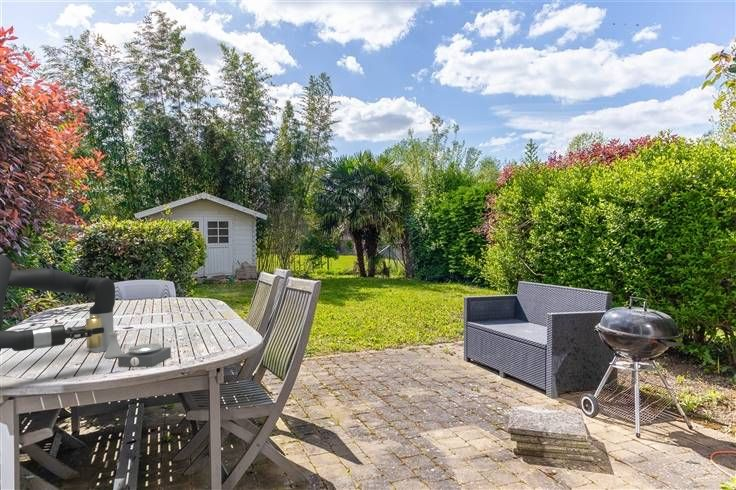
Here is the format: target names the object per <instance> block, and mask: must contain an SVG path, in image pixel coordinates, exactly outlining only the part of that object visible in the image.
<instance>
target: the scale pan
mask: <svg viewBox="0 0 736 490" xmlns="http://www.w3.org/2000/svg"><path fill="white" fill-rule="evenodd" d="M161 347H162V344H160V343H144V344H138V345H134V346H131V347H129V348H128V352H129V353H136V354H137V353H148V352H153V351H157V350H159V349H161Z"/></svg>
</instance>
